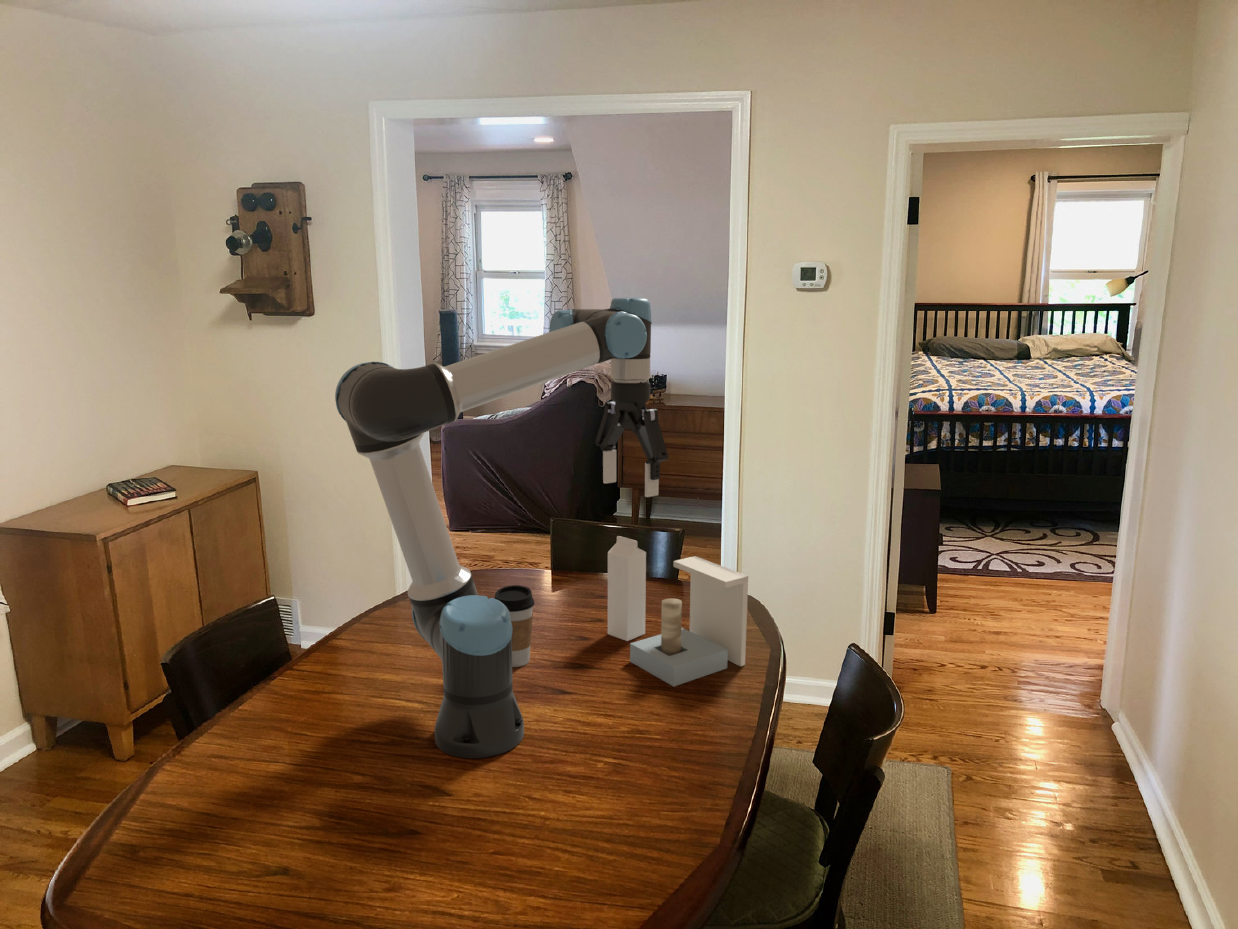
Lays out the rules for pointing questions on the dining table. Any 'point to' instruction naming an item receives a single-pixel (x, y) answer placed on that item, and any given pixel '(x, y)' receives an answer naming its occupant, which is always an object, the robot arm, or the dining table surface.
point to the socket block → (679, 658)
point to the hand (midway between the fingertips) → (630, 489)
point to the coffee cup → (518, 620)
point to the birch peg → (671, 626)
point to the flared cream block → (718, 605)
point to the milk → (626, 589)
